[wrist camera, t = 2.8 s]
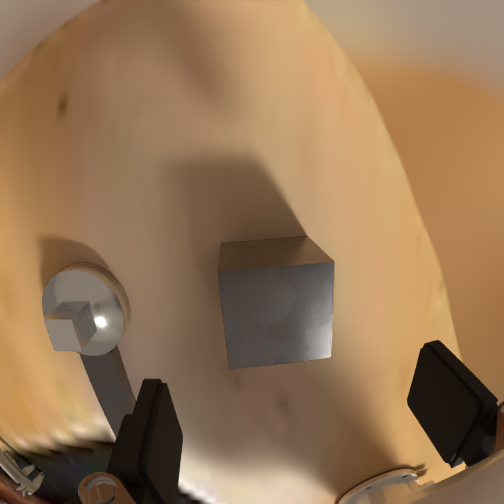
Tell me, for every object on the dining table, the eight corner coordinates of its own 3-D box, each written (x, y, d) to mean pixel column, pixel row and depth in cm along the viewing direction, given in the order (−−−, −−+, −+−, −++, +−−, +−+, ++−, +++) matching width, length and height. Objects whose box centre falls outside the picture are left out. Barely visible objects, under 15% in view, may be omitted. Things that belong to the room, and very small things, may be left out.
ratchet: (119, 259, 21) (93, 283, 16) (174, 451, 27) (169, 487, 22) (45, 265, 21) (10, 288, 16) (114, 447, 27) (103, 480, 22)
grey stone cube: (307, 236, 22) (334, 261, 16) (308, 313, 23) (330, 357, 18) (221, 243, 22) (217, 272, 16) (229, 321, 23) (229, 368, 17)
